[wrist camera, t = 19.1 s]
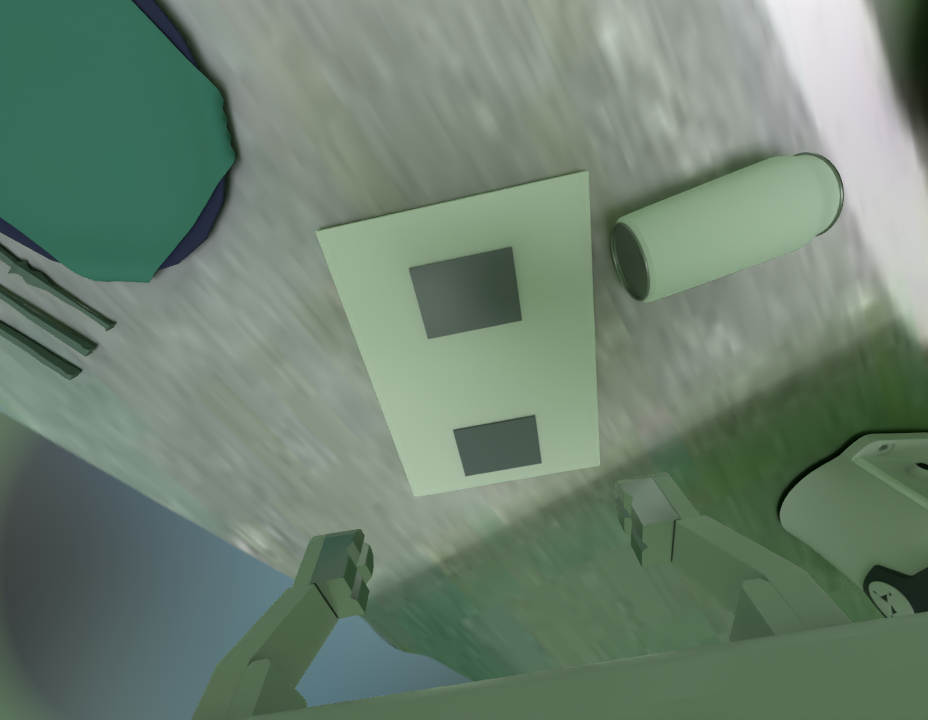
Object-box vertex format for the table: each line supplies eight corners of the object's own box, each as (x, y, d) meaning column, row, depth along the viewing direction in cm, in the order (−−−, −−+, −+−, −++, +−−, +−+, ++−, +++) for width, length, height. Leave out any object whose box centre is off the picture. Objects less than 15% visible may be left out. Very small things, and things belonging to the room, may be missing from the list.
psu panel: (583, 170, 26) (590, 170, 25) (596, 458, 39) (601, 467, 38) (319, 229, 28) (313, 232, 27) (415, 489, 40) (414, 499, 39)
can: (606, 261, 31) (755, 204, 29) (642, 321, 27) (812, 261, 26) (611, 199, 25) (795, 124, 23) (656, 265, 22) (874, 185, 20)
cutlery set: (297, 132, 25) (283, 129, 23) (104, 388, 34) (82, 402, 32) (-41, -214, 18) (-103, -262, 16) (-173, 223, 27) (-225, 228, 25)
